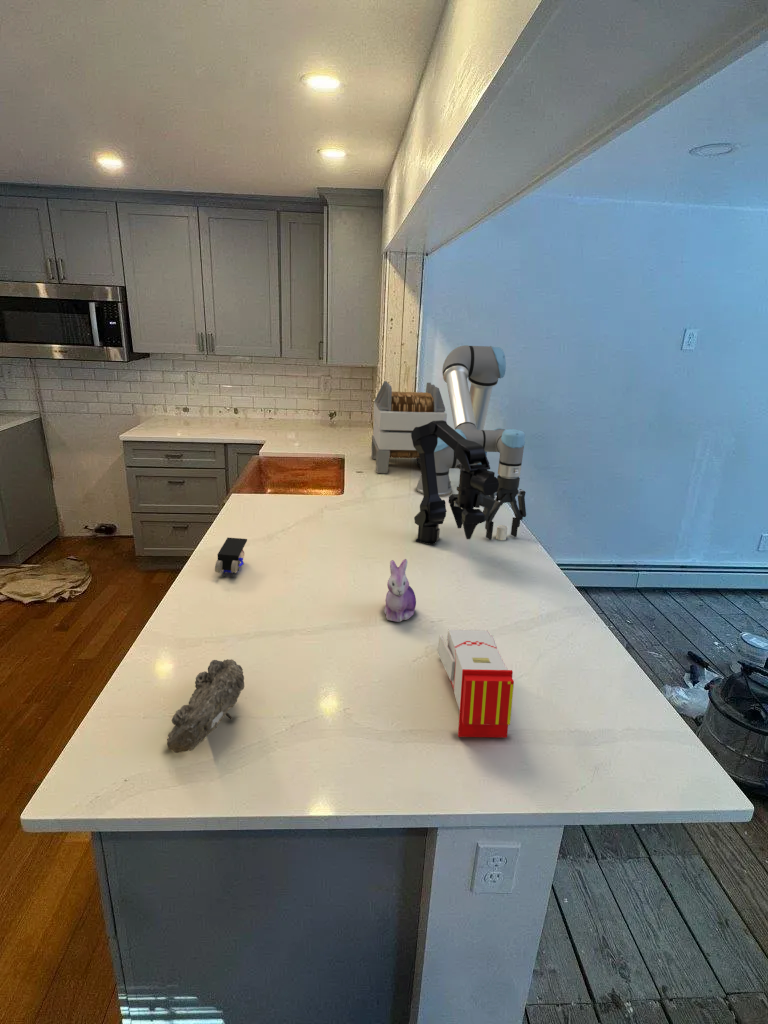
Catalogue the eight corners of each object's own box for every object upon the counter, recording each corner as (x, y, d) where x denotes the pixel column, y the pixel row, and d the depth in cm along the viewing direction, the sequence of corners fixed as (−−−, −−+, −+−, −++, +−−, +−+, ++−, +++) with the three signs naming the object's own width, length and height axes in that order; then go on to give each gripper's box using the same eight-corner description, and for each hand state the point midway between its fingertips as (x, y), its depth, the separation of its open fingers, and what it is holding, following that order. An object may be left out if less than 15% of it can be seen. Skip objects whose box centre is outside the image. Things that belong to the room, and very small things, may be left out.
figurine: (392, 627, 141) (395, 572, 136) (374, 608, 149) (376, 556, 144) (425, 619, 145) (429, 566, 140) (405, 601, 154) (408, 550, 149)
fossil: (192, 660, 117) (244, 628, 112) (224, 691, 120) (276, 661, 115) (142, 746, 98) (202, 712, 93) (182, 779, 101) (242, 748, 96)
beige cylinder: (500, 541, 198) (501, 529, 196) (493, 537, 201) (495, 525, 199) (508, 539, 199) (509, 527, 198) (501, 536, 202) (503, 524, 201)
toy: (488, 613, 130) (523, 677, 101) (484, 667, 133) (517, 744, 104) (435, 612, 130) (455, 676, 101) (432, 666, 133) (451, 743, 103)
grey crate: (370, 456, 302) (373, 378, 288) (430, 457, 305) (436, 380, 292) (376, 473, 270) (380, 387, 256) (443, 474, 274) (450, 389, 260)
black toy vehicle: (238, 584, 162) (249, 557, 175) (236, 562, 158) (247, 536, 172) (215, 584, 161) (227, 556, 175) (212, 561, 158) (225, 535, 171)
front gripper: (504, 495, 164) (498, 544, 169) (483, 476, 181) (478, 522, 187) (468, 495, 162) (463, 545, 167) (450, 477, 179) (446, 523, 185)
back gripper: (485, 481, 185) (478, 544, 193) (542, 477, 193) (533, 538, 200) (474, 474, 192) (468, 536, 199) (530, 471, 199) (522, 530, 207)
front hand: (463, 533), depth 177 cm, fingers open, 9 cm apart
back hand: (501, 537), depth 200 cm, fingers open, 9 cm apart
